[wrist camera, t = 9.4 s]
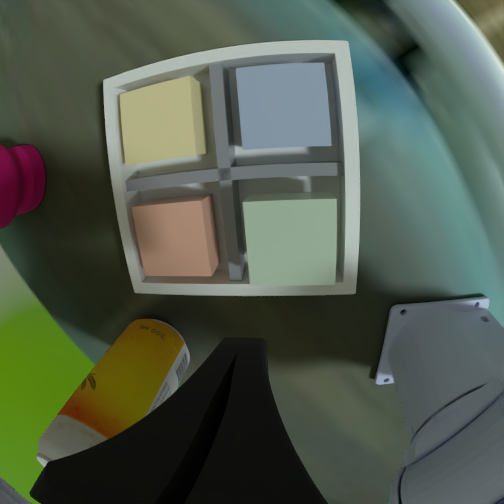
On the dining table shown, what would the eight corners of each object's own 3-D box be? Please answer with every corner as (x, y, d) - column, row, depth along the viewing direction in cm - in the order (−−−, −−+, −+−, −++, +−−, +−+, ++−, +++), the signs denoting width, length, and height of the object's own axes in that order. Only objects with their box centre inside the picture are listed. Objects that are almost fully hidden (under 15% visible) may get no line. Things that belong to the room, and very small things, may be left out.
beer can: (122, 310, 23) (13, 436, 9) (185, 316, 22) (88, 482, 8) (139, 363, 25) (63, 485, 11) (198, 372, 24) (135, 519, 10)
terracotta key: (212, 193, 17) (201, 200, 15) (220, 261, 19) (211, 276, 17) (148, 199, 18) (131, 207, 16) (159, 262, 20) (145, 275, 18)
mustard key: (202, 83, 15) (189, 76, 13) (208, 153, 17) (196, 154, 15) (137, 98, 16) (119, 94, 14) (143, 163, 17) (125, 166, 15)
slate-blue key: (320, 72, 14) (323, 62, 12) (326, 146, 15) (331, 145, 13) (243, 77, 15) (235, 68, 13) (249, 149, 16) (242, 150, 14)
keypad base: (341, 53, 14) (347, 40, 11) (349, 276, 19) (355, 293, 16) (122, 84, 16) (103, 80, 14) (149, 278, 21) (134, 292, 19)
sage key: (331, 191, 15) (336, 198, 13) (331, 267, 17) (335, 284, 15) (249, 194, 16) (242, 202, 14) (255, 269, 17) (250, 286, 15)
